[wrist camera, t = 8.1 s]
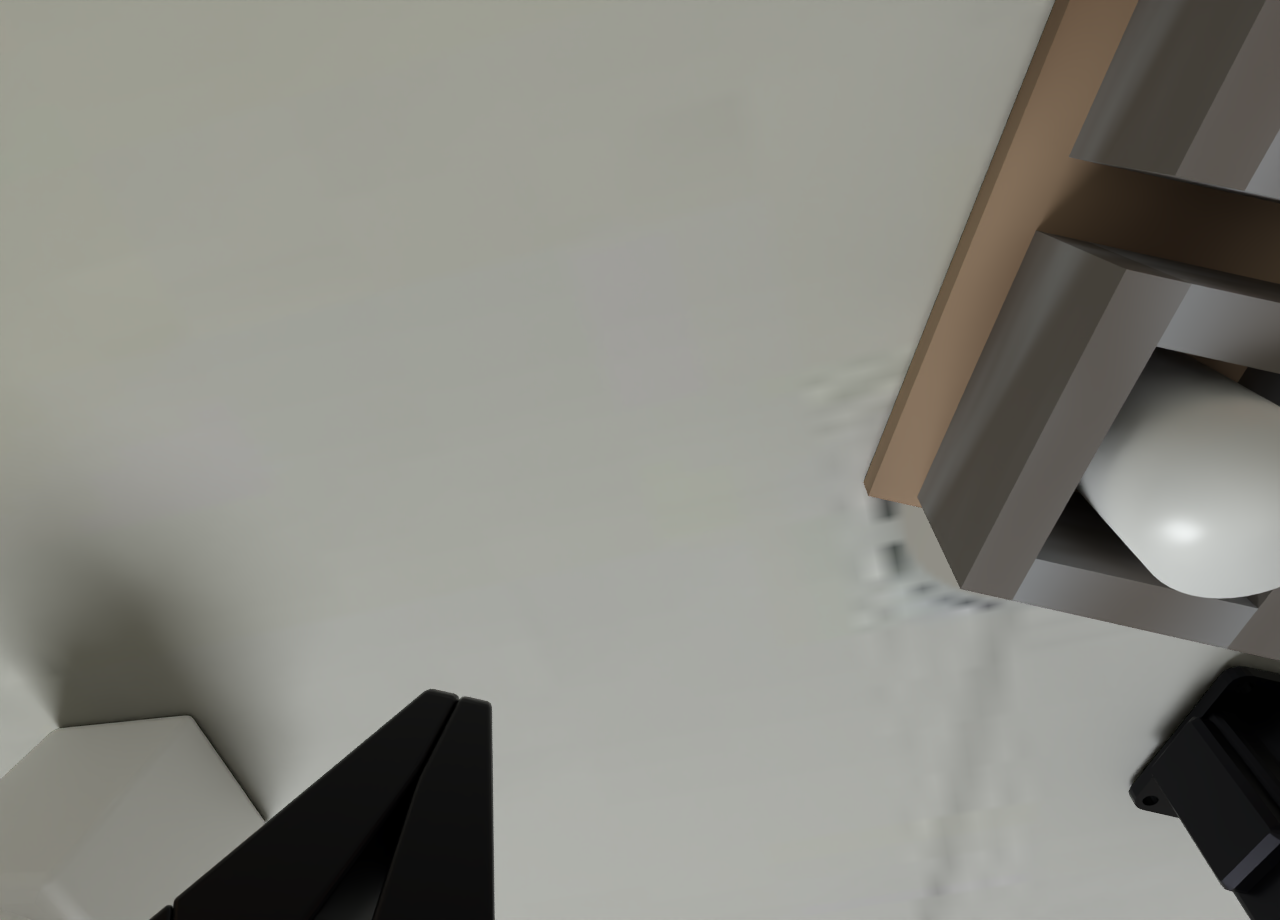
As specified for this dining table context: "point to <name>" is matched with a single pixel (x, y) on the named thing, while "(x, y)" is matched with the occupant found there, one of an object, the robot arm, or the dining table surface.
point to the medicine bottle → (116, 820)
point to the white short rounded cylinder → (1193, 479)
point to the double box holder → (1098, 302)
